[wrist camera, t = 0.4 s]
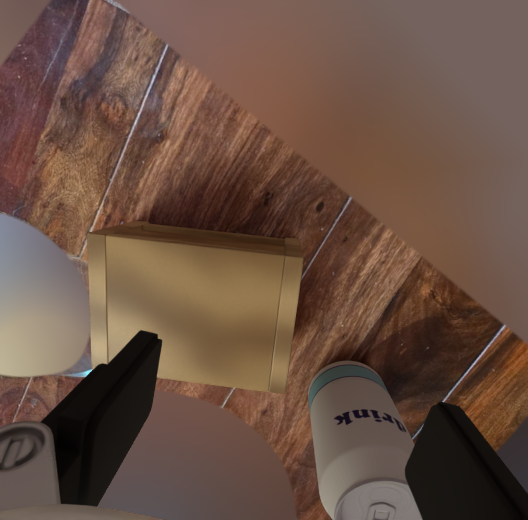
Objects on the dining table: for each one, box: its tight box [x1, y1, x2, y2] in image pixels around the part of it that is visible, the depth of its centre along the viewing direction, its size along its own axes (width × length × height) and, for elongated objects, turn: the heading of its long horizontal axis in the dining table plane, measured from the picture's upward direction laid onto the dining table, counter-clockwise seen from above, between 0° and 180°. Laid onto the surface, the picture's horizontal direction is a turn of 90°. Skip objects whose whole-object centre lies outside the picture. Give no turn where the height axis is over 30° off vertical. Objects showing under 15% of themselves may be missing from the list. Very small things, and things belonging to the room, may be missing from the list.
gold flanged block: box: [87, 220, 304, 394], centre depth 25 cm, size 10×14×7 cm
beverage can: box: [308, 361, 422, 520], centre depth 24 cm, size 7×7×12 cm
